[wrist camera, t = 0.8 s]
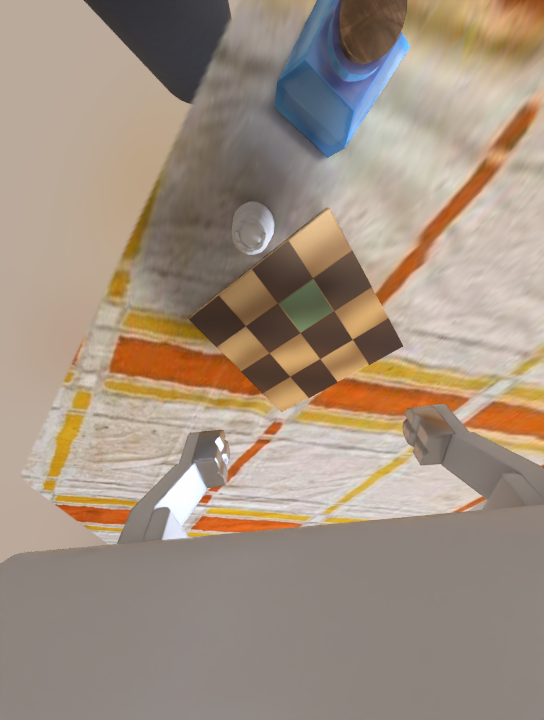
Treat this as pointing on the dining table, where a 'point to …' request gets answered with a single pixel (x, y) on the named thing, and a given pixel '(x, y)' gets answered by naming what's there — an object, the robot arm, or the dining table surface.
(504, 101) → the dining table surface
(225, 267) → the dining table surface
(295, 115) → the perfume bottle
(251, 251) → the rook chess piece
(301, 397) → the chessboard
